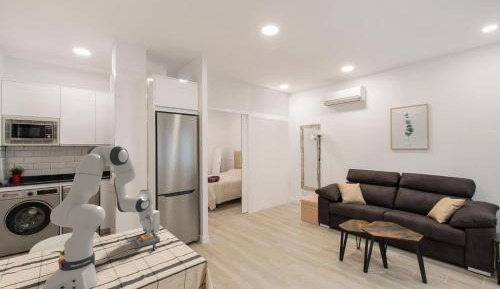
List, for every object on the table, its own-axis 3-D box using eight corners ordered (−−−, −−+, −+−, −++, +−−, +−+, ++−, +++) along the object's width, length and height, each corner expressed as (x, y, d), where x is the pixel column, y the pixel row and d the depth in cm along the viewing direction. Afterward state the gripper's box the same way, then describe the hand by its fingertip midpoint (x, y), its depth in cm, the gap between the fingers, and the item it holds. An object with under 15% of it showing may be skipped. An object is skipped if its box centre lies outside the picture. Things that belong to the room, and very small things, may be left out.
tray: (139, 247, 148) (139, 243, 148) (134, 240, 158) (134, 237, 158) (160, 241, 156) (160, 238, 156) (154, 235, 166) (154, 232, 166)
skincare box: (145, 232, 172) (144, 212, 172) (151, 229, 178) (150, 209, 178) (154, 234, 169) (154, 213, 169) (160, 230, 176) (160, 210, 175)
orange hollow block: (153, 240, 157) (153, 236, 156) (140, 244, 151) (140, 239, 151) (150, 237, 162) (150, 233, 162) (137, 240, 156) (137, 236, 156)
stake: (152, 251, 142) (152, 245, 142) (151, 249, 145) (150, 244, 145) (157, 249, 144) (157, 244, 144) (155, 248, 147) (155, 242, 147)
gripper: (155, 215, 150) (156, 236, 150) (147, 209, 166) (147, 228, 166) (145, 217, 146) (145, 239, 146) (137, 210, 162) (138, 230, 162)
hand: (146, 233), depth 157 cm, fingers open, 8 cm apart
